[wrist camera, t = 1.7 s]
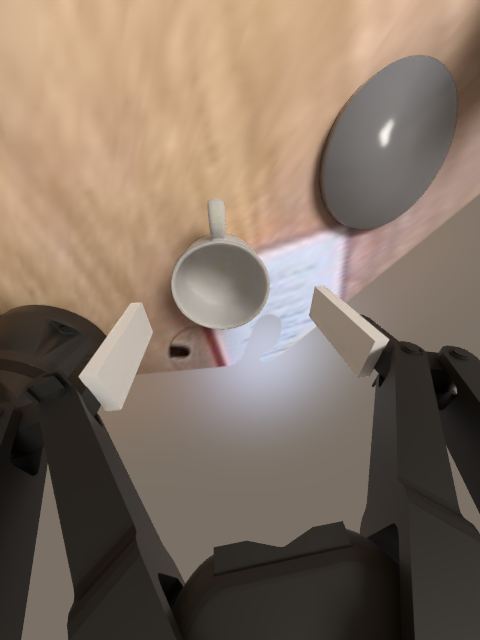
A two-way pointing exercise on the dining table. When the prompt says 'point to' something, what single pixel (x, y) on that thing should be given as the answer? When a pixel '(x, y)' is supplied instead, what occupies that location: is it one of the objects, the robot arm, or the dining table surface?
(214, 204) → the teacup
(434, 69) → the charcoal plate
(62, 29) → the dining table surface
